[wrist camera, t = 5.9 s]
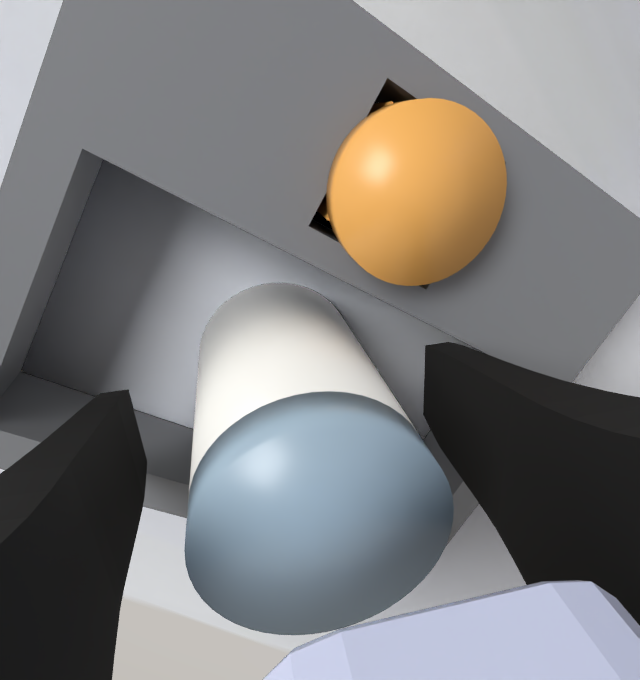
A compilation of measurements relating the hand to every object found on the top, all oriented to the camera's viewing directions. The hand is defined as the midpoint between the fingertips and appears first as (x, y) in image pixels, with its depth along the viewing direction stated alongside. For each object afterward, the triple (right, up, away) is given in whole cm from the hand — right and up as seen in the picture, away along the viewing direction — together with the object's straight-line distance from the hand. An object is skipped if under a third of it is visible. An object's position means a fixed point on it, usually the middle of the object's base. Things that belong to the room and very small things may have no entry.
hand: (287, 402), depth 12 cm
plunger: (+2, +5, 0) cm, 6 cm away
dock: (0, +3, +2) cm, 3 cm away
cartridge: (0, +1, +2) cm, 3 cm away
